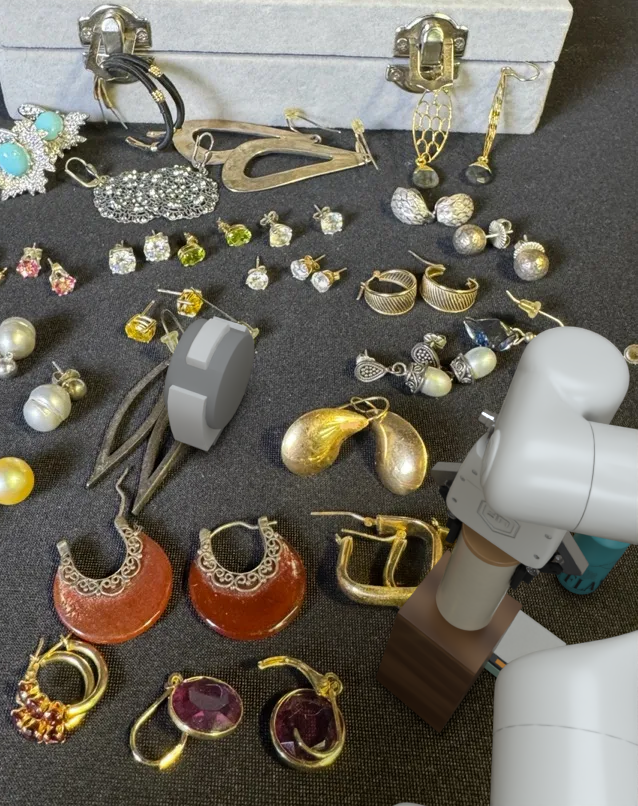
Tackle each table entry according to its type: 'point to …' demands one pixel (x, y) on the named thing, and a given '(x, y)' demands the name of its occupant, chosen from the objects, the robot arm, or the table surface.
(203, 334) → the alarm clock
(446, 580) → the canister
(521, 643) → the scale
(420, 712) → the wooden block
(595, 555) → the beverage bottle
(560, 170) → the table surface
